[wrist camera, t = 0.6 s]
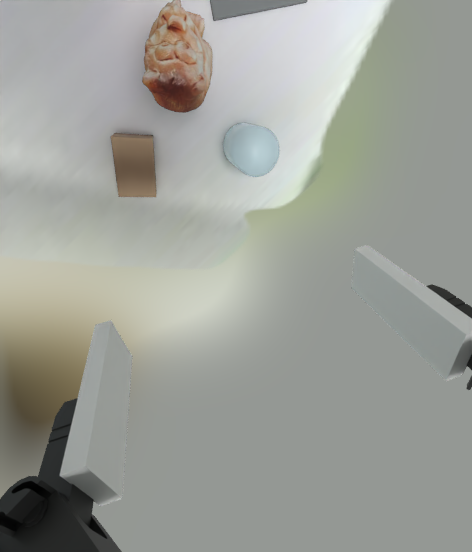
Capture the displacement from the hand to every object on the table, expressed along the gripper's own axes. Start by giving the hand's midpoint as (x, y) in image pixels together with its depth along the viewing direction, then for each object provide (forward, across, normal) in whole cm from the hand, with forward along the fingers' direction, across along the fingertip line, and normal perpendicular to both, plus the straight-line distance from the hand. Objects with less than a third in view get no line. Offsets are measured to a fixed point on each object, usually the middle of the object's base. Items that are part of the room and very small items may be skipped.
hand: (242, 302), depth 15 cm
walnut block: (+26, -5, +3) cm, 27 cm away
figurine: (+26, +2, +11) cm, 28 cm away
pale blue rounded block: (+26, +8, +2) cm, 27 cm away
